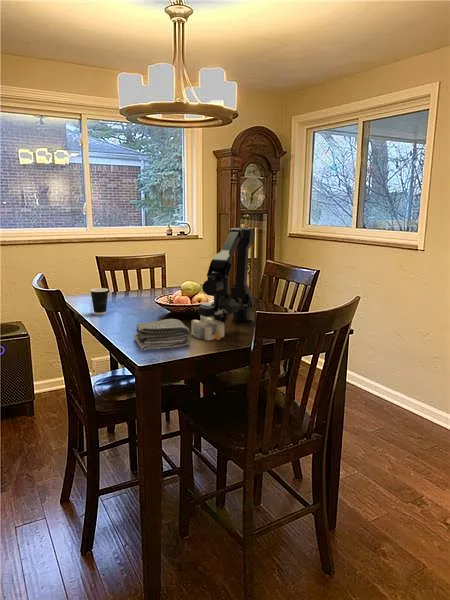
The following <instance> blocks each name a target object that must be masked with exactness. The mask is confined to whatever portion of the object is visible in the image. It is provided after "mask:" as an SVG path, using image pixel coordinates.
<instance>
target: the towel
mask: <svg viewBox="0 0 450 600" xmlns="http://www.w3.org/2000/svg"><path fill="white" fill-rule="evenodd" d="M136 333H137V334H135V333H134V334H133V338H134V339H135V342H136V343H137V345H138V346H139V348H140V350H141V351H145V350H144V349H154V350H159V349H158V348H165V349H173V348H172V347H176V348H183V347H186V346H189V344H190V343H191V338H189V336H190V334H191V330H190V329H189V327H187V325H185V323H183V322H182V321H181V320H180V319H176V318H168V319H165V318H164V319H161V320H156V321H149V322H141V323H137V324H136Z"/></svg>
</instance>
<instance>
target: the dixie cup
mask: <svg viewBox="0 0 450 600" xmlns="http://www.w3.org/2000/svg"><path fill="white" fill-rule="evenodd" d="M89 291H90V295H91V302H92V308H93V312H94V315H99V316H101V315H102V316H103V315H106V312H107V305H108V291H109V288H105V287H101V288H100V287H97V288H91V289H89Z"/></svg>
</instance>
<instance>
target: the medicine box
mask: <svg viewBox="0 0 450 600" xmlns="http://www.w3.org/2000/svg"><path fill="white" fill-rule="evenodd" d="M212 303H214V301H210V302H205V303H200V305H199V307H203V306H209V307H212V308H213V307H214V306H212ZM199 316H200V320H199V321H202V322H204V318H207V317H205V316H202V315H199ZM209 318H212V319H214V317H213V316H210V317H209Z"/></svg>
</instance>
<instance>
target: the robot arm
mask: <svg viewBox="0 0 450 600" xmlns="http://www.w3.org/2000/svg"><path fill="white" fill-rule="evenodd" d="M255 236H256V233H255V231H254V230H253V229H252V227H232V228H230V229H229V231H228V235H227V236H226V237H227V238H226V240H225V242H224V243H223V246H222V248H221V249H220V252H218V253H216V254H215V255H214V256H213V258H212V259H211V261H210V263H209V267H208V270H207V273H206V277H207V279H206V280H205V281H204V282H203V284H202V291H203V293H204V294H205V295H206V296H212V297H213V302H214V303H212V306H214V307H213V308H212V307H209V306H203V307H200V306H199V307H198V308H197V315H199V316H200V315H202V316H205V317H210V316H213V317H214V319H215V320H218V321H221V322H224V325H226V322H227V319H228V317H229V316H230V315H232V314H233V315H232V317H233V318H231V321H234V322H237V321H238V322H237V323H240V322H242V323H246V322H245V321H247V322H251V321H250V320H252V318H250V309H253V306H254V300H253V298H252V295H251V290H250V287H249V285H248V282H247V281H248V269H249V250H250V249H251V247H252V245H253V243H254V239H255V238H256V237H255ZM235 251H237V252H236V264H235V265H236V269H235V270H236V271H235V283H234V285H233V286H232V287H231V288H230V287H229V278H231V275H230V274H231V272H232V269H233V261H232V259H233V256H234V254H235ZM229 289H230V291H229Z"/></svg>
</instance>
